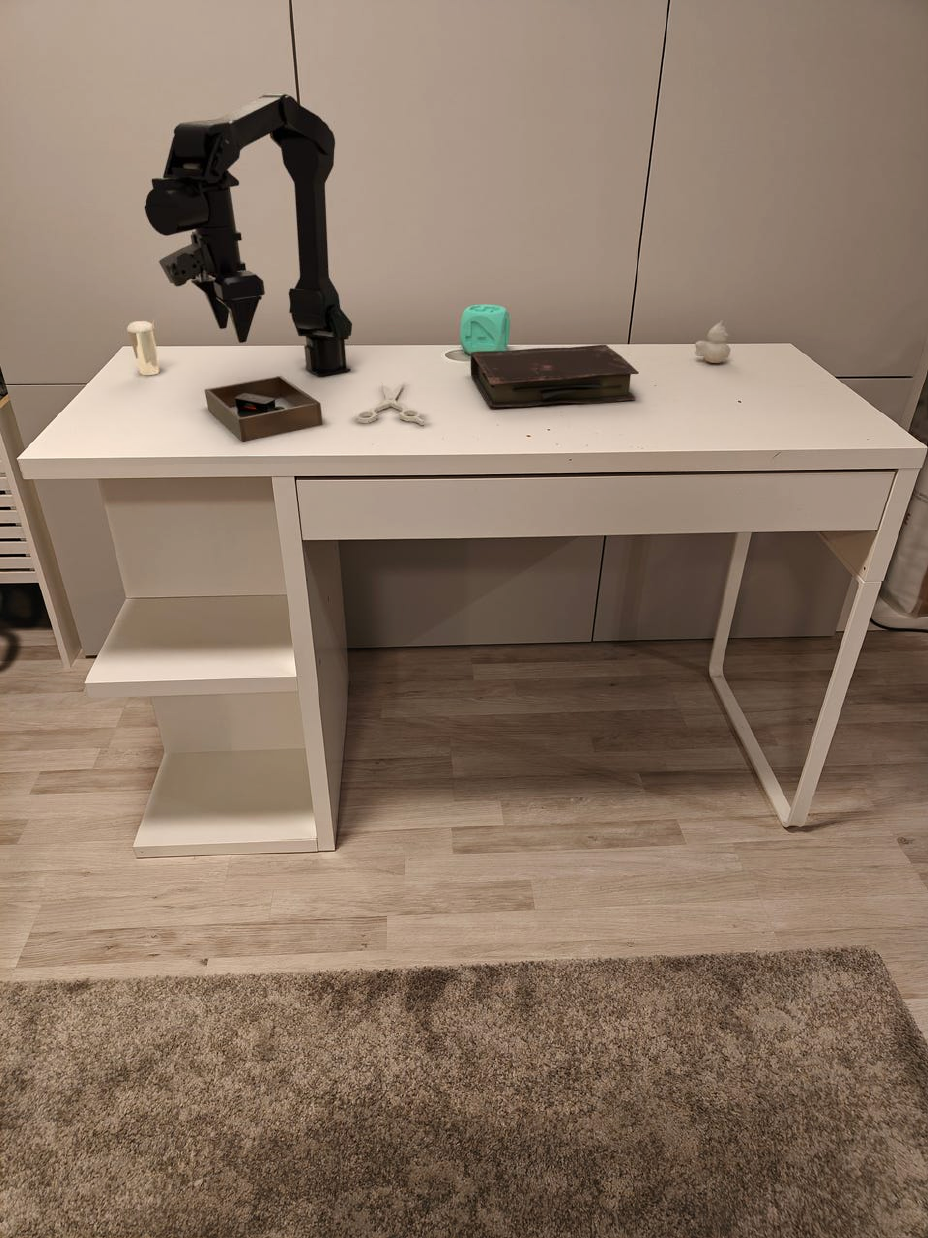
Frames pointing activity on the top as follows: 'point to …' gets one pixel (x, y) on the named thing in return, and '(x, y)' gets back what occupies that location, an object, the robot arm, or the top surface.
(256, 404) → the black dial case
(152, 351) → the milkshake
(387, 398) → the scissors
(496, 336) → the decorative dice
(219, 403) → the desk tray
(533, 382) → the diary
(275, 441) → the top surface
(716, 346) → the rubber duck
